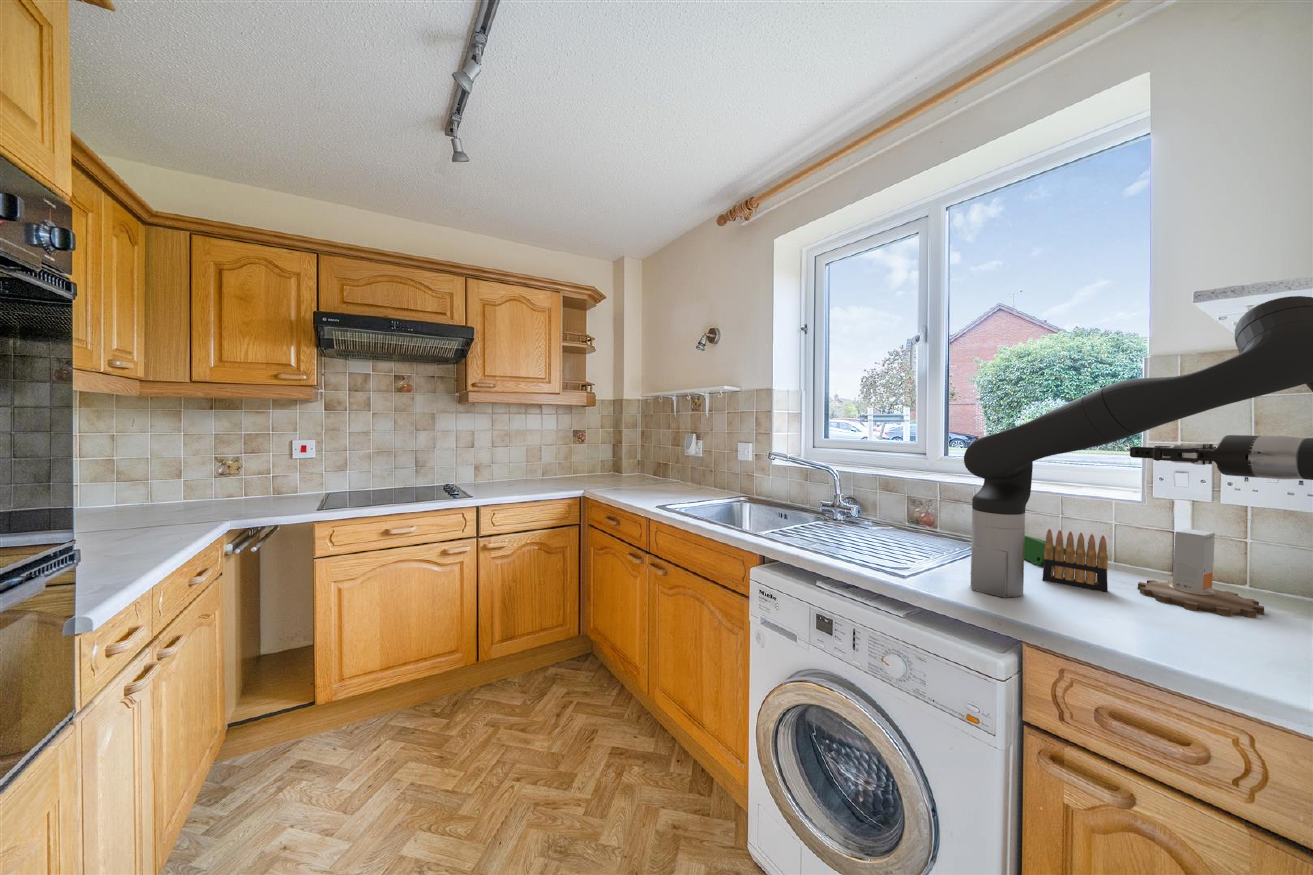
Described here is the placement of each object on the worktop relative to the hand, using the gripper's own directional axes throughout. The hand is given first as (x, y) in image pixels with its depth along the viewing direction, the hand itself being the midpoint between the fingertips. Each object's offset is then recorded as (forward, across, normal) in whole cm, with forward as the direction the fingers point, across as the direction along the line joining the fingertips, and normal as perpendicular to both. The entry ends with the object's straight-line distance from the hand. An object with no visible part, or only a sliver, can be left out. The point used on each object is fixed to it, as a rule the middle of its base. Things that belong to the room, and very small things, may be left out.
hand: (1142, 451), depth 98 cm
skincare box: (-5, -8, +29) cm, 30 cm away
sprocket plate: (-7, -5, +30) cm, 31 cm away
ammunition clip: (+7, +8, +30) cm, 32 cm away
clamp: (+21, -5, +30) cm, 37 cm away
